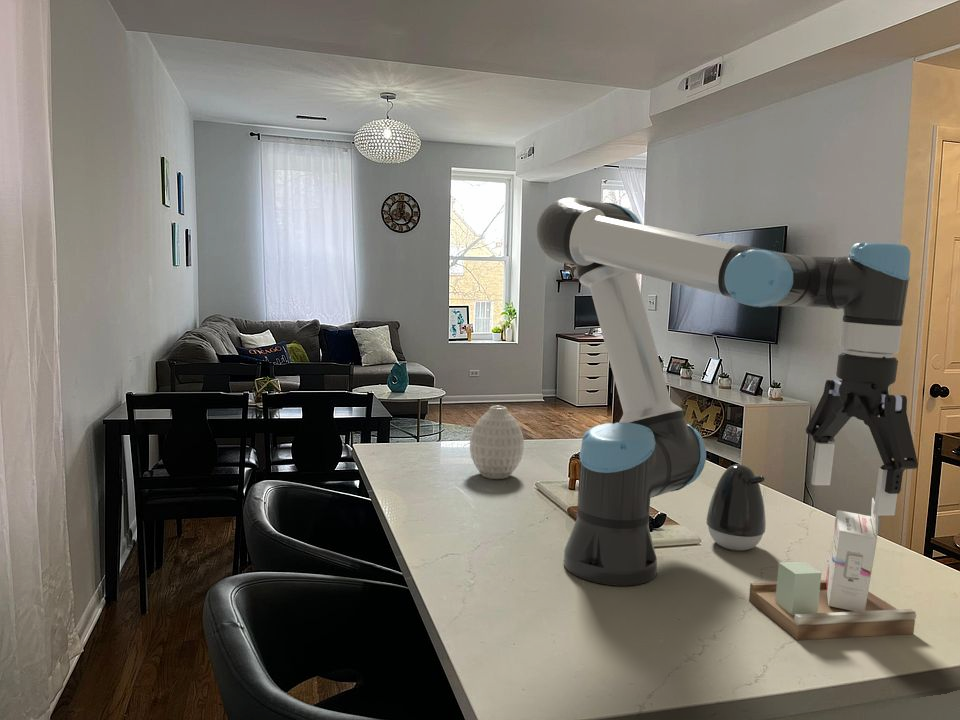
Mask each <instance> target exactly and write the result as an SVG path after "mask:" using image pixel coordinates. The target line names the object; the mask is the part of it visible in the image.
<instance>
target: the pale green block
mask: <svg viewBox="0 0 960 720" xmlns="http://www.w3.org/2000/svg"><path fill="white" fill-rule="evenodd" d="M776 576H777V577H776V579H777V580H776V582H777V587H776V598H775V603H776V604H778V605H779V606H780V607H782V608H783V609H784V610H785V611H787V612H788V613H789V614H791V615H795V614H812V613H818V604H819V594H820V583H821V580H822V572H821V571H820V570H817V568H815V567H813V566H811V565H810V564H808V563H807V562H805V561H789V562H788V561H787V562H786V561H783V562H782V561H781V562H778V568H777V575H776Z"/></svg>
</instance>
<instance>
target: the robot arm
mask: <svg viewBox="0 0 960 720" xmlns="http://www.w3.org/2000/svg"><path fill="white" fill-rule="evenodd" d="M536 237H537V242H538V244H539V246H540V248H541V250H542V251H543V253H544V254H545V255H546V256H547V257H549V258H550V259H551V260H553V261H555V262H558V263H561V264H566V265H567V264H568V265H575V269H576V273H577V277H578V281H579V283H580V284H581V285H582V286H585V287H587V288H589V289H590V293H591V294H590V295H591V297H592V300H593V304H594V308H595V313H596V316H597V319H598V323H599V328H600V330H601V331H600V332H601V335H602V338H603V342H604V346H605V349H606V353H607V357H608V361H609V364H610V368H611V371H612V375H613V378H614V383H615V387H616V389H617V390H616V391H617V394H618V397H619V402H620V405H621V409H622V416H621V418H620V420H619V422H615V423H610V422H609V423H608V422H607V423H603V424H598V425H594V426H593V427H591V428H589V429H587V430H586V431H585V432H584V434H583V435H582V439H581V447H580V451H579V455H578V456H579V473H578V474H579V475H578V477H579V478H578V495H577V512H576V514H577V515H576V521H575V523H574V525H573V528H572V530H571V533H570V536H569V538H568V540H567V542H566V546H565V548H564V551H563V552H564V554H563V566H564V568H565V569H566V570H567V571H569V572H570V573H571V574H573V575H574V576H576V577H578V578H579V579H580V578H581V579H582V580H585V581H588V582H591V583H596V584H600V585H602V584H603V585H607V586H623V587H624V586H636V585H642V584H646V583H648V582H650V581H652V580H653V579H654V578H655V577H656V575H657V569H658V567H657V566H658V559H657V554H656V550H655V546H654V543H653V539H652V534H651V531H650V528H649V527H650V526H649V525H650V524H649V523H650V522H649V521H650V510H651V498H654V497H658V496H661V495H664V494H667V493H670V492H676V491H680V490H682V489H684V488H685V487H686V486H689V485H690V484H693V482H695V481H696V480H697V479H698V478H699V477H700V476H701V474H702V471H703V470H704V468H705V465H706V460H707V450H706V449H707V448H706V443H705V441H704V439H703V437H702V435H701V433H700V432H699V431H698V430H697V429H696V428H694V427H692V425H691V424H689V423H687V420H686V417H685V413H684V410H683V408H682V407H681V406H679V405H677V404H675V403H674V402H673V401H672V399H671V397H670V393H669V390H668V386H667V383H666V379H665V376H664V372H663V368H662V364H661V361H660V358H659V354H658V351H657V347H656V343H655V340H654V336H653V332H652V329H651V326H650V321H649V318H648V315H647V312H646V309H645V308H646V307H645V304H644V300H643V297H642V294H641V290H640V287H639V282H638V279H637V274H638V275H642V276H647V277H650V278H655V279H659V280H661V281H662V280H663V281H666V282H671V283H672V284H673V283H675V284H678V285H681V286H685V287H689V288H693V289H697V290H702V291H705V292H709V293H712V294H717V295H721V296H724V297H727V298H728V297H729V298H731V299H733V300H735V301H736V302H737V303H740V304H743V305H746V306H749V307H755V308H766V307H802V308H803V307H805V308H819V309H820V308H823V309H824V308H825V309H834V310H840V309H841V310H843V316H842V321H841V329H840V337H839V344H838V347H839V348H840V349H841V350H843V352H840V353H839V354H838V357H837V364H836V372H835V373H836V375H835V376H836V378H838V379H827V380H826V381H825V384H824V388H823V393H822V395H821V398H820V399H819V402H818V404H817V406H816V408H815V410H814V412H813V414H812V416H811V418H810V420H809V422H808V425H807V426H806V429H805V431H806V434H807V435H809V436H811V437H812V440H813V442H814V446H813V447H814V448H813V454H812V459H813V465H812V472H811V473H812V474H811V485H813V486H831V480H832V473H833V462H834V457H835V456H834V454H835V447H836V444H835V443H833V442H836V440H835V437H836V435H838V433H839V432H840V431H841V430H842V428H844V426H846V424H847V423H848V422H849V420H850V419H851V418H856V419H857V420H860V421H863V423H864V425H866V426H867V427H868V428H869V431H870V433H871V436H872V438H873V440H874V443H875V446H876V448H877V451H878V453H879V456H880V458H881V460H882V463H883V464H882V465H881V466H880V467H878V473H877V474H878V475H877V481H876V489H875V496H874V497H875V498H874V501H875V504H874V511H873V514H875V515H877V516H878V517H879V516H882V517H883V516H886V517H887V516H895V515H896V508H897V499H898V495H899V494H900V492H901V490H902V481H903V475H904V472H905V471H906V470H914V469H915V470H916V469H918V467H919V463H918V459H917V454H916V449H915V444H914V440H913V436H912V431H911V427H910V426H911V425H910V422H909V417H908V413H907V412H908V411H907V407H908V398H907V395H904V394H902V395H901V394H890V393H889V387H890V385H892V384H894V383H896V379H897V374H898V365H899V360H898V358H897V357H894V355H898V354H899V353H900V347H901V340H902V330H903V324H904V314H905V307H906V302H907V294H908V290H909V289H908V288H909V282H911V281H910V280H911V277H910V271H911V270H910V269H911V267H910V266H911V250H910V248H909V247H908V246H907V245H904V244H900V243H891V242H890V243H889V242H858V243H854V244H853V245H852V246H851V249H850V252H849V254H848V256H847V255H846V256H839V257H837V256H820V255H805V254H804V255H803V254H795V253H789V252H788V253H787V252H779V251H775V250H771V249H770V250H768V249H764V248H759V247H753V246H749V245H744V244H743V245H742V244H738V243H734V242H728V241H725V240H719V239H715V238H710V237H706V236H705V237H704V236H701V235H695V234H691V233H686V232H680V231H676V230H675V231H674V230H671V229H666V228H662V227H656V226H653V225H652V226H651V225H647V224H642V222H641V221H640V219H639V218H638V216H637V215H636V214H635V213H634V212H633V211H631V210H630V209H629V208H626V207H623V206H621V205H618V204H617V203H613V202H601V201H600V202H598V201H593V200H588V199H582V198H578V197H565V198H561V199H557V200H556V201H554V202H552V203H550V204H549V205H548V206H547V207H546V208H545V209H543V211H542V213H541V215H540V216H539V218H538V222H537V226H536ZM875 515H874V516H875Z"/></svg>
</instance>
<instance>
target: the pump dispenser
mask: <svg viewBox="0 0 960 720" xmlns="http://www.w3.org/2000/svg"><path fill="white" fill-rule="evenodd" d="M765 479H766V478H765V476H763V475H756V474H755V472H754V471H753V470H752V468H750V467H749V466H747V465H745V464H741V463H740V464H738V463H735V464H732V465H731V466H729V467H728V468H726V469H725V471H724V472H723V473H722V474H721V476H720V477H719V479H718V481H717V483H716V486H715V488H714V490H713V492H712V495H711V498H710V502H709V506H708V509H707V514H706V515H707V516H706V521H705V522H706V526H708V527H707V528H708V533H709V535H710V536H711V538H712V540H713V541H714V542H715V543H716V544H717V545H719V546H720V547H722V548H725V549H726V550H729V551H737V552H738V551H742V552H743V551H748V550H750V549H753V548H755V547H756V546H757V545H758V544H759V543H760V542H761V540H762V538H763V535H764V534H765V533H766V530H767V529H766V527H767V525H766V524H767V523H766V522H767V521H766V508H765V502H764V497H763V494H762V493H763V492H762V489H761V485H760V483H763V482H765Z"/></svg>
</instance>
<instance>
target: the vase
mask: <svg viewBox="0 0 960 720" xmlns="http://www.w3.org/2000/svg"><path fill="white" fill-rule="evenodd" d="M469 439H470V440H469V452H470V457H471V458H470V459H472V464H474V466H475V468H476V470H477V471H478V472H479V474H481V476H482V477H484V478H485V479H489V480H490V479H491V480H504V479H507V478H509V477H510V476H511V475H512V474H513V473H514V472H515V471H516V470H517V468H518V467H519V465H520V463H521V461H522V458H523V455H524V449H525V443H524V442H525V441H524V435H523V432H522V428H521V426H520V424H519V422H518V421H517V419H516V418H515V417H514V416H513V415H512V413H511V412H509V410H508V407H506V406H503V405H491V406H490V407H489V409H488V410H487V412H485V413H484V414H482V415H481V416H480V418H479V419H478V420H477V422H475V425H474V427H473V428H472V431H471V433H470V438H469Z"/></svg>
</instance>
